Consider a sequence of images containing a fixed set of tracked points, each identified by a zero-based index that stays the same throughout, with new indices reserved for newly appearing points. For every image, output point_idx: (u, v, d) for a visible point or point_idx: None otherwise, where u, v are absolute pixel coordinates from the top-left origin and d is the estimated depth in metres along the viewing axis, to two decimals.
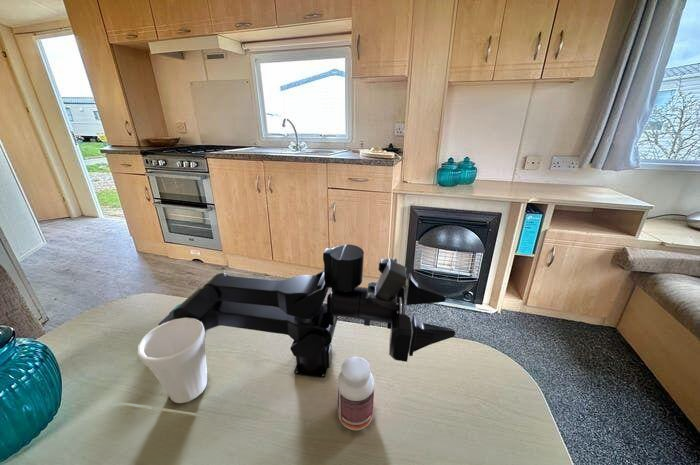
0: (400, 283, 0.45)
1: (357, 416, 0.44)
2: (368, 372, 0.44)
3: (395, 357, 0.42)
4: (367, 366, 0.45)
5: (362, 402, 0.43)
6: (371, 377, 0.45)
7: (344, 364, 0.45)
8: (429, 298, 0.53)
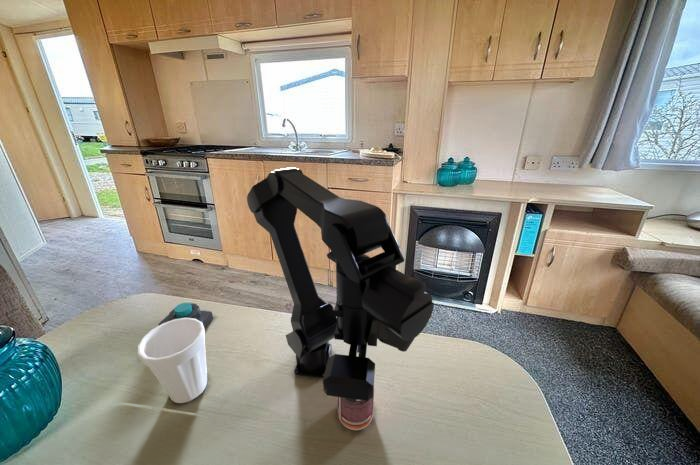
0: (402, 347, 0.38)
1: (357, 416, 0.44)
2: None
3: (330, 385, 0.33)
4: None
5: (362, 402, 0.43)
6: None
7: None
8: None
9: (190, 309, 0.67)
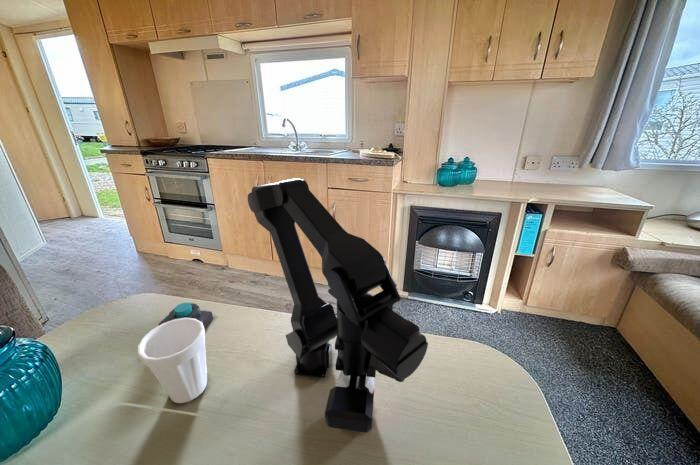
0: (399, 378, 0.40)
1: None
2: None
3: (332, 418, 0.35)
4: None
5: None
6: (371, 377, 0.45)
7: None
8: None
9: (190, 309, 0.67)
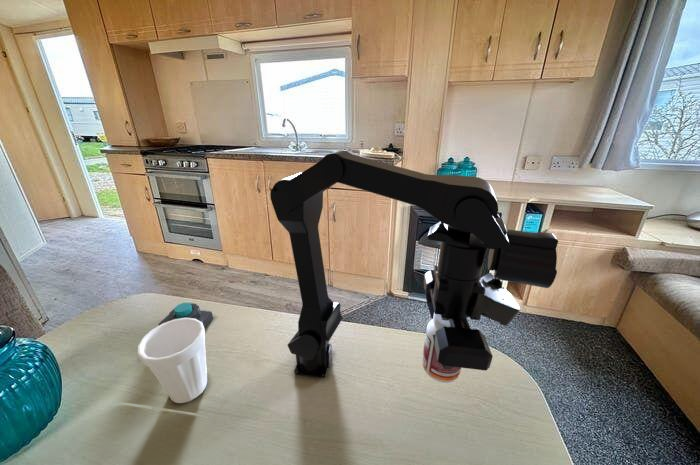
0: (504, 321, 0.38)
1: None
2: None
3: (449, 355, 0.33)
4: None
5: None
6: None
7: None
8: None
9: (190, 309, 0.67)
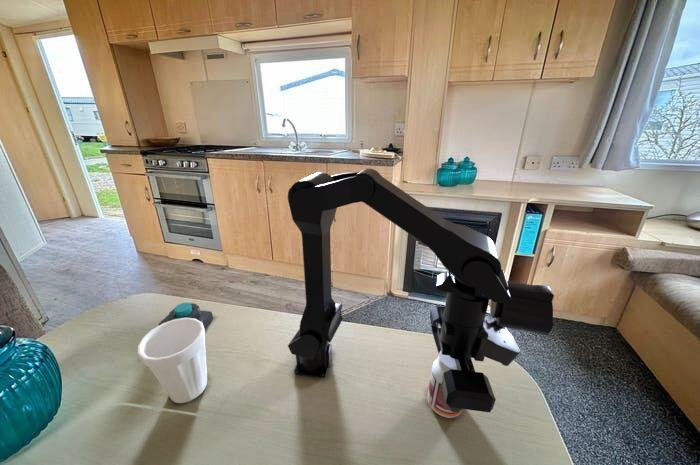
0: (506, 362, 0.42)
1: None
2: None
3: (456, 398, 0.37)
4: None
5: None
6: None
7: (441, 354, 0.47)
8: None
9: (190, 309, 0.67)
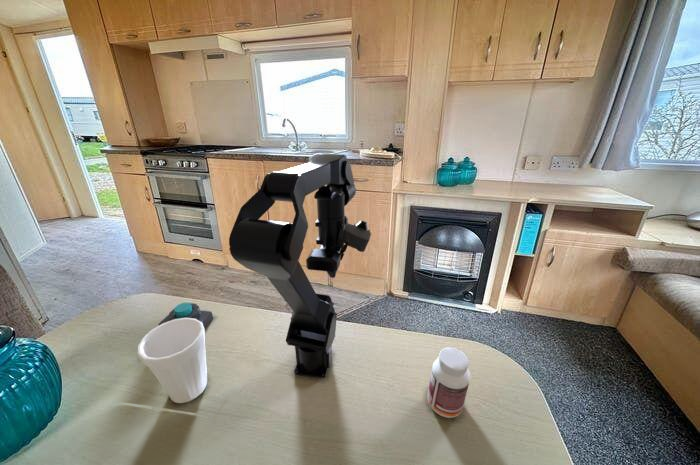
0: (359, 248, 0.58)
1: (454, 403, 0.46)
2: (467, 362, 0.45)
3: (310, 261, 0.53)
4: (464, 356, 0.46)
5: (461, 390, 0.45)
6: None
7: (441, 354, 0.47)
8: None
9: (190, 309, 0.67)
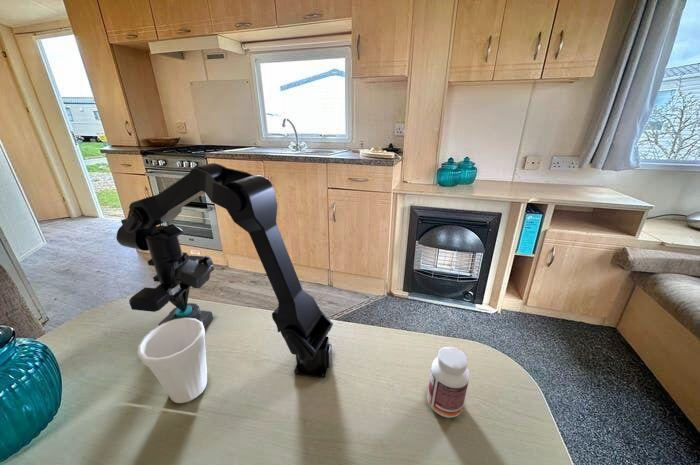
0: (193, 285, 0.60)
1: (453, 403, 0.46)
2: (466, 361, 0.46)
3: (131, 302, 0.55)
4: (463, 355, 0.47)
5: (460, 389, 0.45)
6: None
7: (440, 353, 0.47)
8: None
9: (191, 312, 0.67)
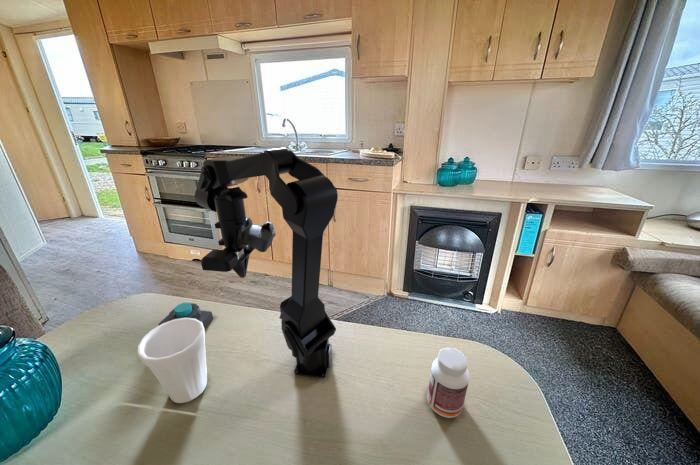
0: (259, 249, 0.60)
1: (453, 404, 0.46)
2: (466, 362, 0.45)
3: (203, 262, 0.55)
4: (463, 357, 0.46)
5: (460, 390, 0.45)
6: None
7: (440, 354, 0.47)
8: None
9: (190, 309, 0.67)
